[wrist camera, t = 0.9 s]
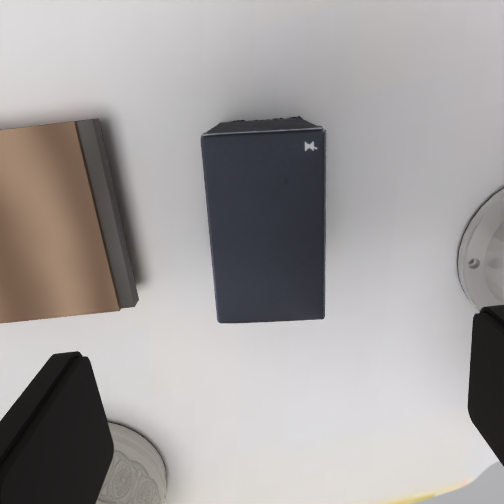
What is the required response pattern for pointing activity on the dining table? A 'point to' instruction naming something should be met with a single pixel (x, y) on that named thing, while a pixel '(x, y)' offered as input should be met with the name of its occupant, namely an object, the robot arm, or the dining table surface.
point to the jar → (133, 471)
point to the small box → (267, 219)
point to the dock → (60, 225)
